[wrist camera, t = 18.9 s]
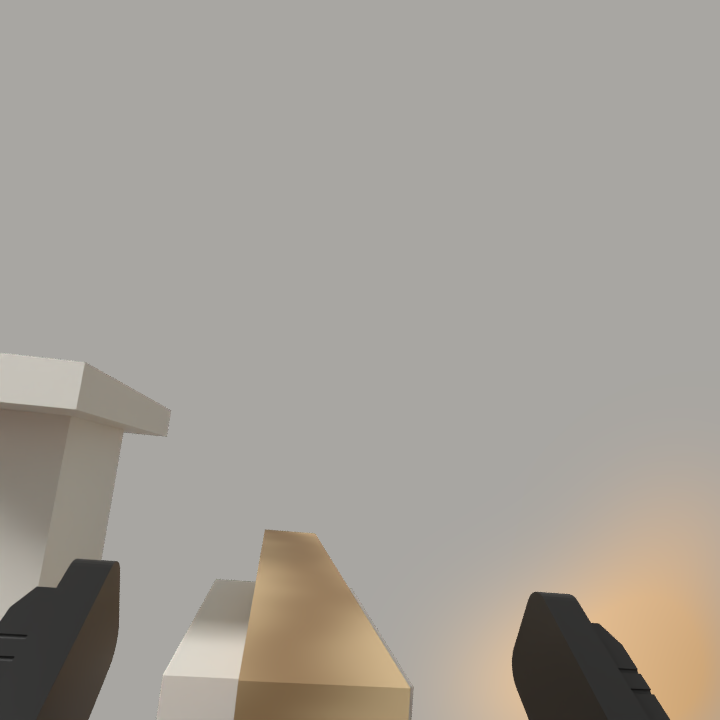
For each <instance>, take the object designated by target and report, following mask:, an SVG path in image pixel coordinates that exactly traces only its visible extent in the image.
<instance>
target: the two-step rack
mask: <svg viewBox="0 0 720 720" xmlns="http://www.w3.org/2000/svg"><path fill="white" fill-rule="evenodd" d="M170 413H171V410H170V409H168V408H166V407H164V406H162V405H160V404H159V403H157V402H155V401H153V400H152V399H150V398H148V397H146V396H145V395H143V394H141V393H139V392H137V391H135V390H134V389H132V388H130V387H128V386H127V385H125V384H123V383H121V382H120V381H118V380H116V379H114V378H112V377H111V376H109V375H107V374H105V373H103V372H102V371H99V370H98V369H96V368H95V367H93V366H91V365H89V364H87V363H85V362H79V361H70V360H61V359H52V358H43V357H34V356H24V355H15V354H6V353H0V621H1V619H2V618H3V616H4V615H5V613H6V612H7V610H8V609H9V607H11V606H12V605H13V604H15V603H16V602H17V601H18V600H20V599H21V598H22V597H24V596H25V595H26V594H28V593H29V592H30V591H32V590H33V589H34V588H35V587H37V586H38V587H53V588H56V587H57V586H58V584H59V582H60V581H61V579H62V577H63V576H64V574H65V572H66V571H67V569H68V567H69V566H70V564H71V563H72V561H73V560H75V559H90V560H101V559H102V553H103V547H104V541H105V535H106V530H107V524H108V518H109V512H110V506H111V501H112V495H113V489H114V483H115V477H116V472H117V466H118V460H119V454H120V449H121V443H122V437H123V433H134V434H144V435H155V436H165V437H167V432H168V426H169V420H170ZM255 584H256V582H251V581H236V580H221V579H216V580H215V582H214V584H213V586H212V587H211V589H210V591H209V593H208V594H207V596H206V598H205V600H204V602H203V604H202V605H201V607H200V609H199V611H198V613H197V614H196V616H195V618H194V620H193V621H192V624H191V625H190V627H189V629H188V631H187V632H186V634H185V636H184V638H183V640H182V641H181V643H180V645H179V647H178V649H177V650H176V652H175V654H174V656H173V658H172V659H171V661H170V663H169V665H168V667H167V668H166V670H165V672H164V674H163V677H162V684H161V690H160V697H159V705H158V711H157V718H156V720H234V712H235V704H236V696H237V687H238V680H239V674H240V668H241V663H242V657H243V651H244V646H245V640H246V634H247V629H248V623H249V618H250V612H251V606H252V601H253V595H254V589H255ZM349 589H350V591H351V593H352V594H353V596H354V597H355V599H356V601H357V602H358V604H359V606H360V607H361V609H362V610H363V612H364V614H365V615H366V617H367V619H368V620H369V622H370V623H371V625H372V627H373V628H374V630H375V632H376V633H377V635H378V636H379V638H380V640H381V641H382V643H383V645H384V646H385V648H386V649H387V651H388V653H389V654H390V656H391V658H392V659H393V661H394V662H395V664H396V666H397V667H398V669H399V671H400V672H401V674H402V675H403V677H404V679H405V680H406V682H407V684H408V685H409V687H410V704H409V719H408V720H411V717H412V701H413V685H412V684H411V682H410V681H409V679H408V678H407V676H406V674H405V673H404V671H403V670H402V668H401V666H400V665H399V663H398V662H397V660H396V658H395V657H394V655H393V654H392V652H391V650H390V649H389V647H388V646H387V644H386V642H385V641H384V639H383V638H382V636H381V635H380V633H379V632H378V630H377V628H376V627H375V625H374V624H373V622H372V620H371V619H370V617H369V616H368V614H367V612H366V611H365V609H364V608H363V606H362V604H361V603H360V601H359V600H358V598H357V596H356V595H355V593H354V592H353V590H352V589H351V588H349Z"/></svg>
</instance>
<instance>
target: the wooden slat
mask: <svg viewBox="0 0 720 720" xmlns="http://www.w3.org/2000/svg"><path fill="white" fill-rule="evenodd" d="M409 704H410V687H409V685H408V684H407V682H406V680H405V679H404V677H403V675H402V674H401V672H400V671H399V669H398V667H397V666H396V664H395V662H394V661H393V659H392V658H391V656H390V654H389V653H388V651H387V649H386V648H385V646H384V645H383V643H382V641H381V640H380V638H379V636H378V635H377V633H376V632H375V630H374V628H373V627H372V625H371V623H370V622H369V620H368V619H367V617H366V615H365V614H364V612H363V610H362V609H361V607H360V606H359V604H358V602H357V601H356V599H355V597H354V596H353V594H352V593H351V591H350V589H349V588H348V586H347V585H346V583H345V581H344V580H343V578H342V576H341V575H340V573H339V572H338V570H337V568H336V567H335V565H334V563H333V562H332V560H331V559H330V557H329V555H328V554H327V552H326V550H325V549H324V547H323V546H322V544H321V542H320V541H319V539H318V537H317V536H316V534H314V533H301V532H289V531H275V530H265V533H264V538H263V545H262V550H261V555H260V561H259V567H258V572H257V578H256V584H255V589H254V595H253V601H252V606H251V612H250V618H249V623H248V629H247V634H246V640H245V646H244V651H243V657H242V663H241V668H240V674H239V680H238V687H237V696H236V704H235V712H234V720H408V719H409Z"/></svg>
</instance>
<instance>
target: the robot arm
mask: <svg viewBox="0 0 720 720" xmlns="http://www.w3.org/2000/svg"><path fill="white" fill-rule="evenodd" d="M119 590H120V566H119V563H118V562H117V561H104V560H90V559H75V560H73V561H72V563H71V564H70V566H69V567H68V569H67V571H66V572H65V574H64V576H63V577H62V579H61V581H60V582H59V584H58V586H57V587H56V588H53V587H38V586H37V587H35V588H34V589H33V590H32V591H30V592H29V593H28V594H26V595H25V596H24V597H22V598H21V599H20V600H18V601H17V602H16V603H15V604H13V605H12V606H11V607H9V609H8V610H7V612H6V613H5V615H4V616H3V618H2V619H1V621H0V720H88V719H89V717H90V714H91V711H92V709H93V707H94V704H95V702H96V699H97V697H98V694H99V692H100V689H101V687H102V684H103V682H104V679H105V677H106V674H107V672H108V670H109V667H110V664H111V662H112V658H113V655H114V651H115V647H116V643H117V637H118V629H119V592H120V591H119ZM512 670H513V677H514V681H515V685H516V688H517V691H518V693H519V696H520V698H521V701H522V703H523V706H524V708H525V711H526V713H527V716H528V719H529V720H670V719H669V717H668V716H667V714H666V713H665V711H664V709H663V708H662V706H661V705H660V703H659V702H658V700H657V699H656V697H655V695H652V694H651V692H650V690H651V689H650V688H649V686H648V685H647V683H646V682H645V680H644V678H643V677H642V675H641V674H638V672H637V668H636V666H635V664H634V663H633V661H632V660H631V658H630V657H629V655H628V653H627V652H626V650H625V649H624V647H623V646H622V644H620V643H619V642H618V641H617V640H616V639H615V638H614V637H613V636H612V635H611V634H610V633H609V632H608V631H606V630H605V629H604V628H603V627H602V626H601V625H600V624H598V623H591V622H590V621H589V619H588V618H587V616H586V614H585V612H584V611H583V609H582V608H581V606H580V604H579V603H578V601H577V600H576V598H575V597H574V596H572V595H570V594H558V593H545V592H534V593H532V594H531V595H530V597H529V600H528V603H527V606H526V610H525V613H524V616H523V619H522V623H521V626H520V629H519V633H518V636H517V639H516V643H515V646H514V650H513V657H512Z"/></svg>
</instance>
